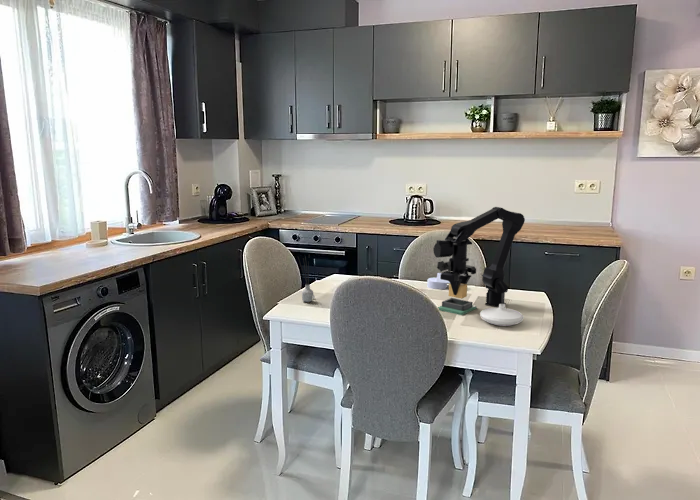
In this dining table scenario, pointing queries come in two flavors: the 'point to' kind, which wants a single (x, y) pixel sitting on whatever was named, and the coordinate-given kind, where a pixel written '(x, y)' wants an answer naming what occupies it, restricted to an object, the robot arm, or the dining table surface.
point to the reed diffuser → (307, 287)
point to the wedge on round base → (437, 282)
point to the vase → (501, 316)
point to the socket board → (457, 306)
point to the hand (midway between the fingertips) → (457, 293)
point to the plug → (459, 291)
